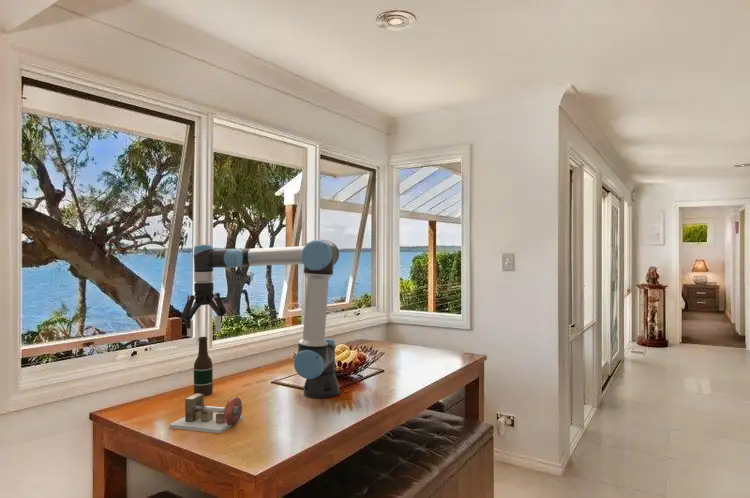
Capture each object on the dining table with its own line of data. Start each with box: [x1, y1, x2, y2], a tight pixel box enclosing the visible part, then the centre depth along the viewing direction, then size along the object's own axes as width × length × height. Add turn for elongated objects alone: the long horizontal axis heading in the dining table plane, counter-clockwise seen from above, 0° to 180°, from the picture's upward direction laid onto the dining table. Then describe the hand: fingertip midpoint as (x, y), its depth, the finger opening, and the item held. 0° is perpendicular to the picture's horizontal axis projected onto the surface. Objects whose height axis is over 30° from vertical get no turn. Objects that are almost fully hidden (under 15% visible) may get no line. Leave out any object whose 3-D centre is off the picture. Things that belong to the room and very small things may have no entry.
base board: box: [168, 412, 244, 434], centre depth 171 cm, size 20×14×1 cm
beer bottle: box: [193, 336, 214, 397], centre depth 207 cm, size 8×8×24 cm
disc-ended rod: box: [195, 396, 243, 426], centre depth 170 cm, size 20×9×9 cm, turn 74°
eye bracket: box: [184, 393, 225, 424], centre depth 171 cm, size 14×6×8 cm, turn 74°
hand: (204, 333), depth 200 cm, fingers open, 13 cm apart
